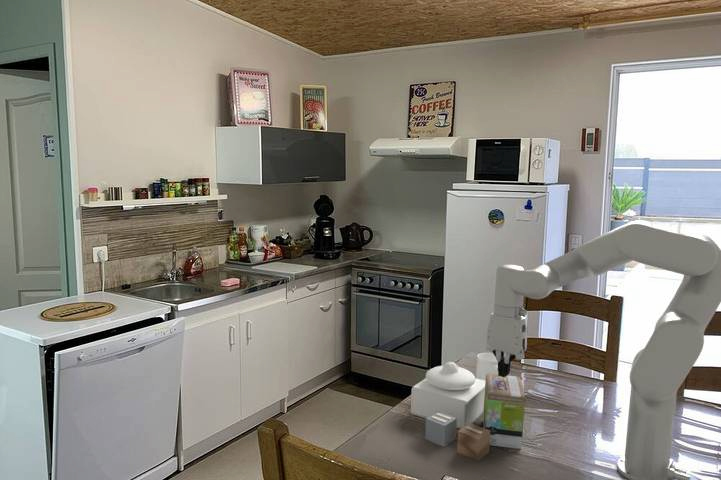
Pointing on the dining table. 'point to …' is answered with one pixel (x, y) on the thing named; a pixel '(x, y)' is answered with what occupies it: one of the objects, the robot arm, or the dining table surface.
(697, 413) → the dining table surface
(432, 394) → the butter dish
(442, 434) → the slate marked block
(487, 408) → the tea box
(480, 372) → the mug
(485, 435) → the walnut marked block
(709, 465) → the dining table surface
